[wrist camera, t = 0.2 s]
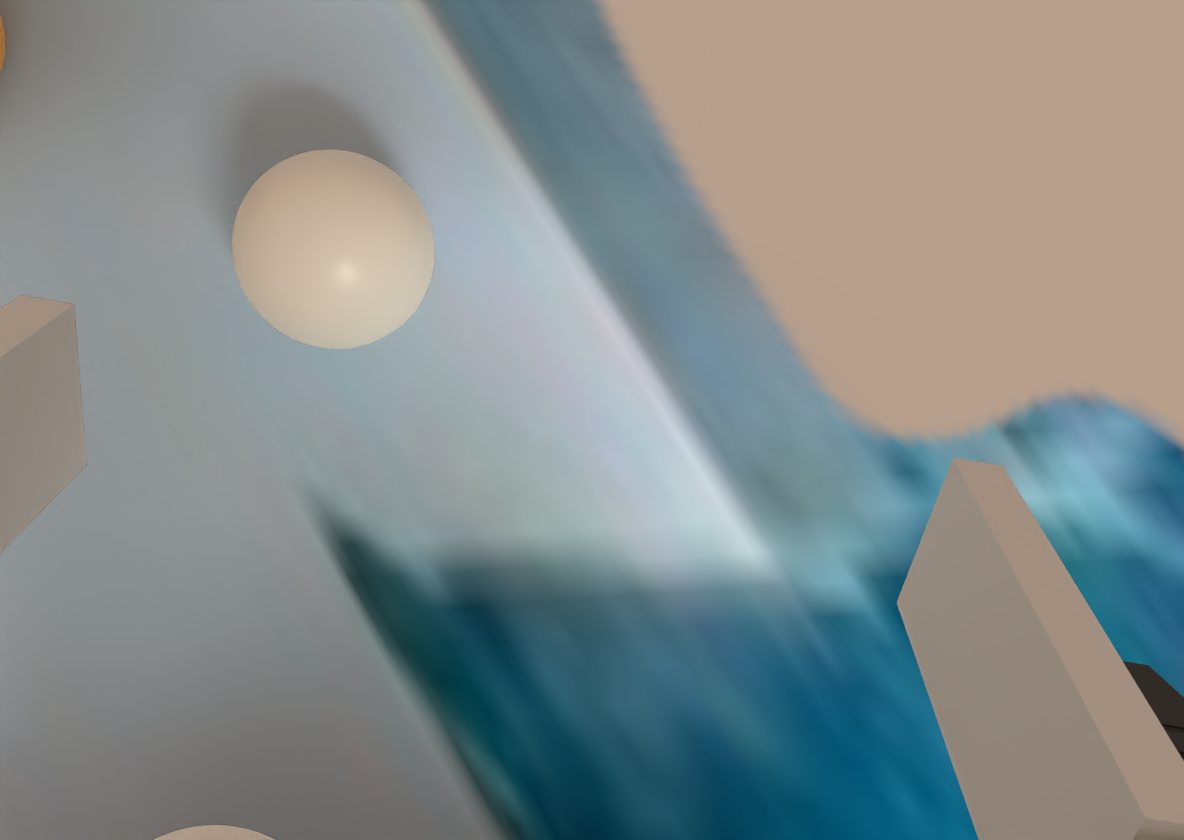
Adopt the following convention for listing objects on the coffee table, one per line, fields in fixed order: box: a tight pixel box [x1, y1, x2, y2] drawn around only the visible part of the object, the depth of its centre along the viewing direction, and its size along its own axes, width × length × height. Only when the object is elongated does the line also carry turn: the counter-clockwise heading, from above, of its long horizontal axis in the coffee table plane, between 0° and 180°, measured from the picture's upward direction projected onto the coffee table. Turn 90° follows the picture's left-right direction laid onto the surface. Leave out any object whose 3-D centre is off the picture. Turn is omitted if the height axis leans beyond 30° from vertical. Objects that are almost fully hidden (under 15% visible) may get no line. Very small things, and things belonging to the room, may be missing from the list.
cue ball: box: [232, 149, 435, 349], centre depth 28 cm, size 6×6×6 cm
